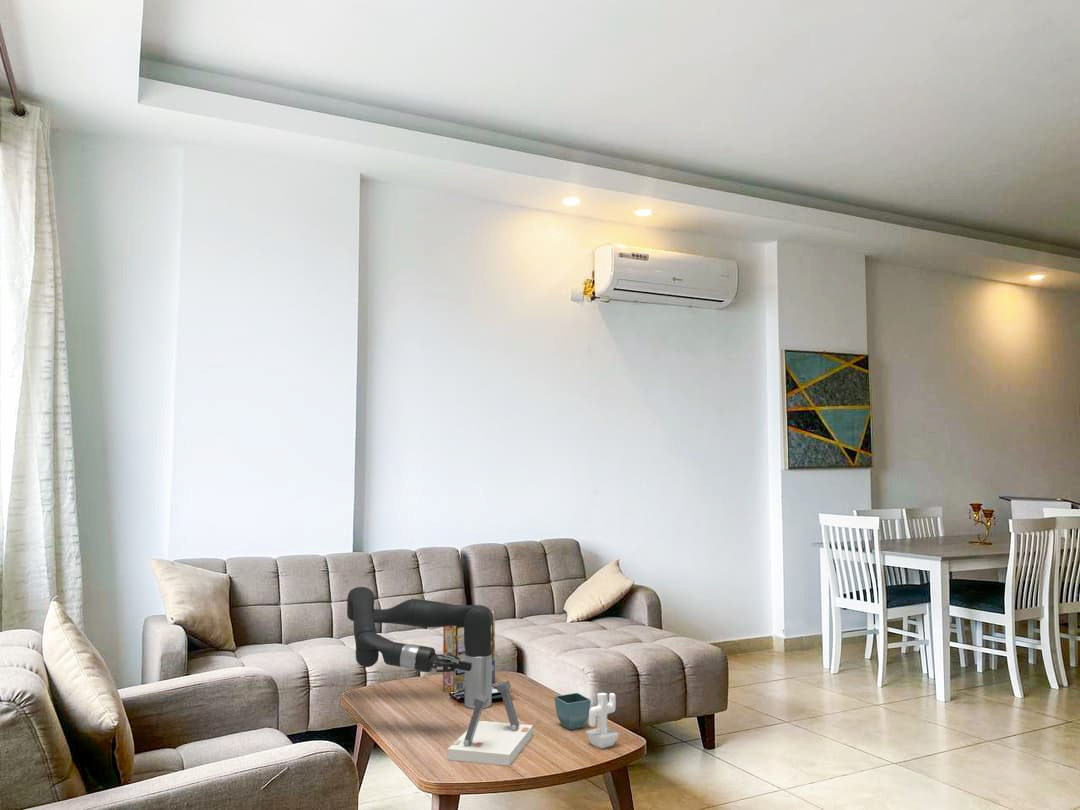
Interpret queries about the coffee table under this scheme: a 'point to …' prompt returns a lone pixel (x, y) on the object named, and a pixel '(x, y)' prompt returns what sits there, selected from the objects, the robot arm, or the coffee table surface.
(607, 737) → the figurine
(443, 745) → the coffee table surface
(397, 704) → the coffee table surface
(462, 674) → the board game box
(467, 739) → the lever
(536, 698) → the coffee table surface
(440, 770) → the coffee table surface
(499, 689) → the lever
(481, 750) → the switch base
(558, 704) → the flower pot
